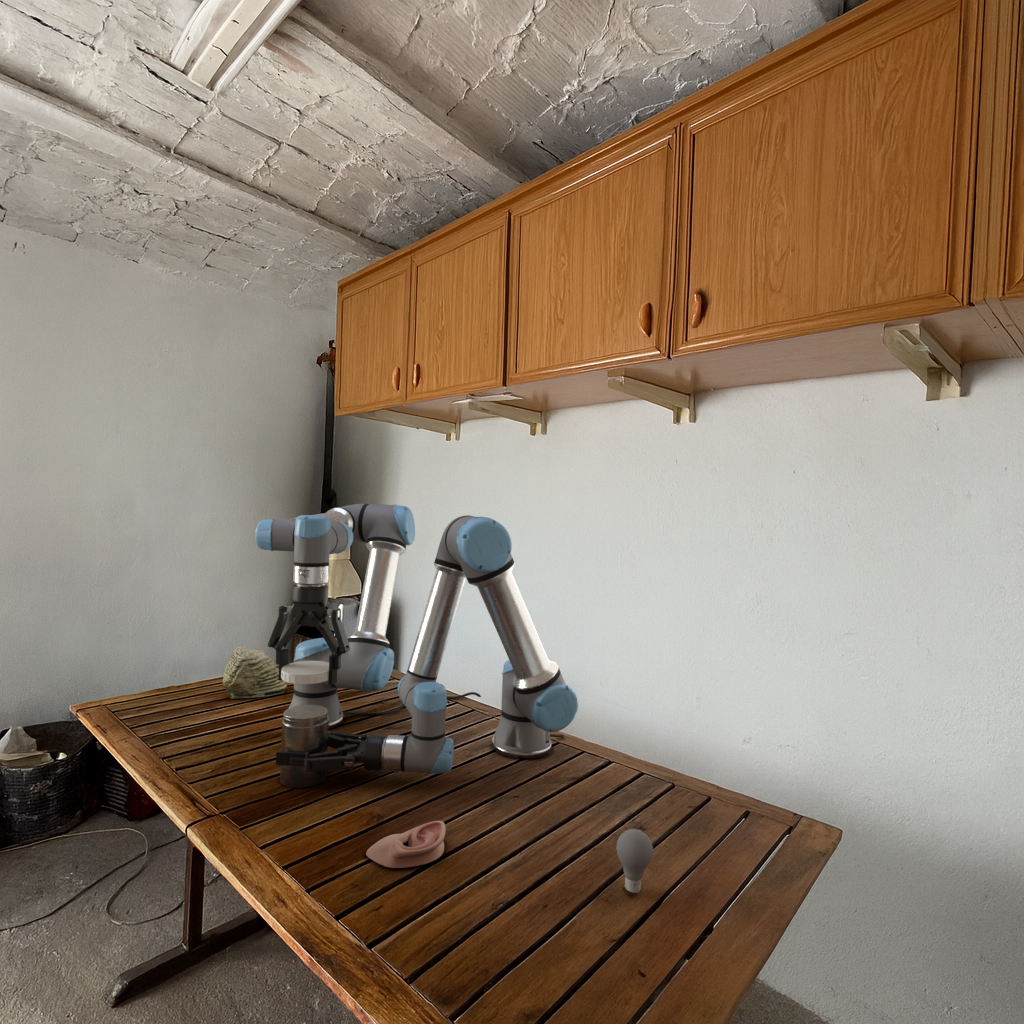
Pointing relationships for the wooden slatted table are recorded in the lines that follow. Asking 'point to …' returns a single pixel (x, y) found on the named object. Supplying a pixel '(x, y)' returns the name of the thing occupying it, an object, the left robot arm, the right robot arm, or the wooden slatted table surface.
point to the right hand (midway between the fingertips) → (285, 748)
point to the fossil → (252, 674)
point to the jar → (304, 742)
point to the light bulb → (634, 857)
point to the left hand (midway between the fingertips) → (307, 681)
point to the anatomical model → (410, 846)
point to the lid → (305, 672)
